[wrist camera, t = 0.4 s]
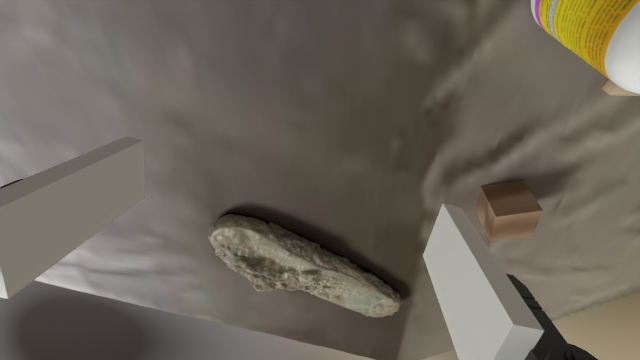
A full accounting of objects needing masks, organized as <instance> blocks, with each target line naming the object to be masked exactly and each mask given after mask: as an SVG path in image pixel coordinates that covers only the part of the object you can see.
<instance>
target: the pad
mask: <svg viewBox="0 0 640 360" xmlns="http://www.w3.org/2000/svg"><path fill="white" fill-rule="evenodd" d="M602 89H603V90H604V91H605V92H607V93H608V94H609V95H628V96H640V94H638V93H633V92H630V91H627V90H625V89H623V88H621V87H620V86H618V85H617V84H615V83H614V82H612V81H611V80H610V79H609V80H608V81H607V83H606V84H605V85H604V87H603V88H602Z"/></svg>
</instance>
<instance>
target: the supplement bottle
mask: <svg viewBox="0 0 640 360" xmlns="http://www.w3.org/2000/svg"><path fill="white" fill-rule="evenodd" d="M531 10H532V14H533V17H534V19H535V21H536V22H537V24H538V25H539V26H540V27H541V28H543V29H544V30H545V31H546V32H548V33H549V34H550V35H551V36H553V37H554V38H555V39H557V40H558V41H559V42H561V43H562V44H563V45H565V46H566V47H567V48H569V49H570V50H571V51H573V52H574V53H575V54H577V55H578V56H579V57H581V58H582V59H583V60H585V61H586V62H587V63H589V64H590V65H591V66H593V67H594V68H595V69H597V70H598V71H599V72H601V73H602V74H603V75H605V76H606V77H607V78H608V79H610V80H611V81H612V82H614V83H615V84H617V85H618V86H620V87H621V88H623V89H625V90H627V91H630V92H633V93H638V94H640V0H531Z"/></svg>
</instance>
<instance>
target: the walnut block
mask: <svg viewBox="0 0 640 360" xmlns="http://www.w3.org/2000/svg"><path fill="white" fill-rule="evenodd" d="M542 211H543V210H542V208H541V207H540V205H539V204H538V202H537V200H536V199H535V197H534V196H533V194H532V193H531V191H530V190H529V188H528V186H527V185H526V183H525V182H524V180H518V181H511V182H504V183H498V184H491V185H484V186H481V187H480V192H479V197H478V203H477V208H476V212H477V214H478V217H479V219H480V221H481V223H482V225H483V228H484V230H485V232H486V234H487V236H488V239H489V241H497V240H505V239H512V238H520V237H528V236H533V233H534V231H535V228H536V226H537V224H538V221H539V219H540V216H541V214H542Z"/></svg>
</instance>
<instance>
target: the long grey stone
mask: <svg viewBox="0 0 640 360" xmlns="http://www.w3.org/2000/svg"><path fill="white" fill-rule="evenodd" d="M208 239H209V240H210V242H211V243H212V245H213V247H214V248H215V253H216V255H217V256H219V257H220V258H221V259H222V260H223V261H224V262H226V263H227V266H228V267H230V268H232V270H234V271H235V272H240V273H241V275H243V276H244V277H246V278H248V279H249V280H250V281H251V282H253V288H255V289H256V290H257V291H258V292H264V291H273V290H276V289H278V288H279V289H285V288H286V289H287V290H290V291H296V290H304V291H308V292H310V293H311V294H312V295H313V294H314V295H316V296H317V297H319V298H321V299H325V300H328V301H330V302H332V303H335V304H338V305H340V306H343V307H346V308H348V309H351V310H353V311H357V312H360V313H362V314H363V315H366V317H369V316H372V317H384V316H387V315H393V314H394V313H395V312H397V311H398V310H399V308H400V305H401V297H400V295H399V293H398V292H396V291H394V290H393V289H392V288H391V287H390V286H389V285H387V284H384V283H383V281H382V280H380V279H378V278H377V277H376V276H375V275H372V274H371V273H370V272H365V271H363V270H362V269H360V268H359V267H357V265H356V264H353V263H350V262H349V260H348V259H347V258H346V257H340V256H337V255H335V254H333V253H331V252H328V251H327V250H326V249H321V248H320V246H319V244H317V243H314V242H311V241H309V240H307V239H305V238H303V237H299V236H298V235H296V234H294V233H291V232H289V231H288V230H285V229H283V228H281V227H280V226H278V225H277V224H274V223H272V222H271V223H269V224H267V223H265V222H263V221H261V220H258V219H256V218H251V217H244V216H241V215H233V214H229V215H225V216H223V217H221V218H220V219H219V220H217V221H216V222H215V223H214V224H212V226H211V227H210V228H209V233H208Z"/></svg>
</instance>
